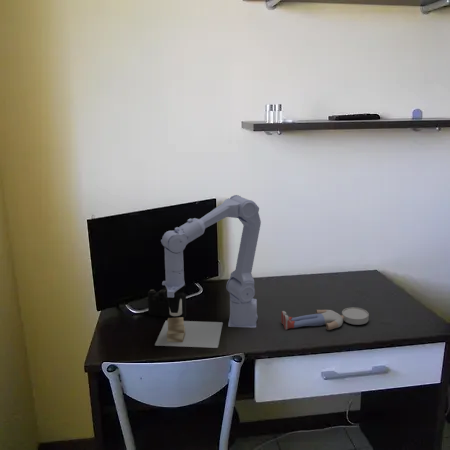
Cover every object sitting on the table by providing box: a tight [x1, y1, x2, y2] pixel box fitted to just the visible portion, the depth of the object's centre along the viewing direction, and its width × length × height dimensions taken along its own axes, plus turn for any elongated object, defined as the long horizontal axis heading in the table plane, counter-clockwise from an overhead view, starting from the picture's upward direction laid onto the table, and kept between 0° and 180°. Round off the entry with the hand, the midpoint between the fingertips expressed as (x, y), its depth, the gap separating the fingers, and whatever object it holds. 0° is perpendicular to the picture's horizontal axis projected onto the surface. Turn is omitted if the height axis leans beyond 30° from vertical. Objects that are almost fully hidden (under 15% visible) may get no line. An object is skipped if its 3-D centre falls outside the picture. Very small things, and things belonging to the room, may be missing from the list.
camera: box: [147, 288, 187, 319], centre depth 175 cm, size 14×11×10 cm
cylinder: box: [169, 299, 182, 316], centre depth 155 cm, size 4×4×4 cm
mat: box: [154, 319, 224, 349], centre depth 160 cm, size 20×17×1 cm
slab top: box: [167, 317, 185, 334], centre depth 156 cm, size 5×5×3 cm
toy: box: [280, 306, 370, 331], centre depth 167 cm, size 6×13×30 cm
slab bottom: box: [167, 326, 185, 342], centre depth 157 cm, size 5×5×3 cm
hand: (175, 309), depth 155 cm, fingers closed on cylinder, 4 cm apart
